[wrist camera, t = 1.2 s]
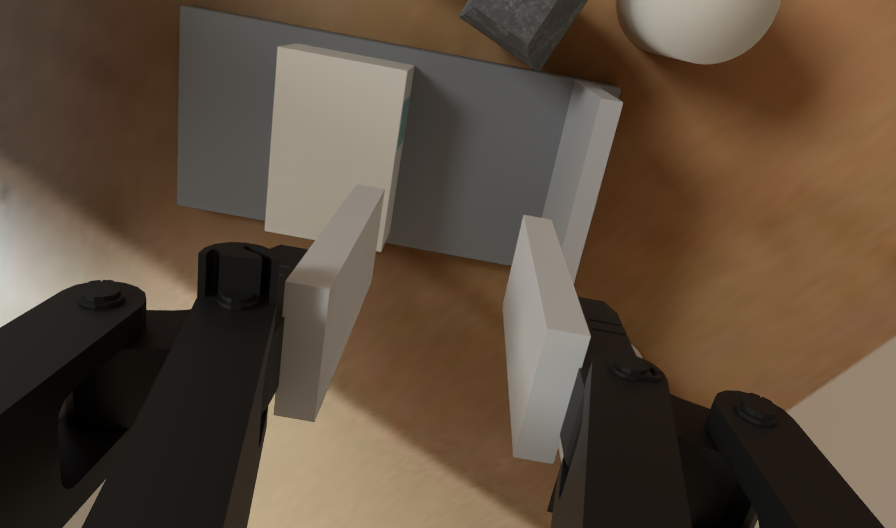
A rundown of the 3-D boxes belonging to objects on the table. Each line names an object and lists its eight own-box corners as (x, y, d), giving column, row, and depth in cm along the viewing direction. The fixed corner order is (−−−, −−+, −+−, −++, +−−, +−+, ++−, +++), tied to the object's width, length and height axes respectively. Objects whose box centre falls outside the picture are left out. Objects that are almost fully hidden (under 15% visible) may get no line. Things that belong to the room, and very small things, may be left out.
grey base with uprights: (188, 197, 49) (102, 251, 38) (192, 5, 44) (94, 2, 33) (567, 266, 50) (592, 340, 39) (615, 85, 45) (660, 109, 34)
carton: (283, 211, 47) (263, 230, 43) (297, 43, 43) (277, 46, 39) (390, 231, 47) (381, 252, 43) (415, 65, 43) (407, 70, 39)
